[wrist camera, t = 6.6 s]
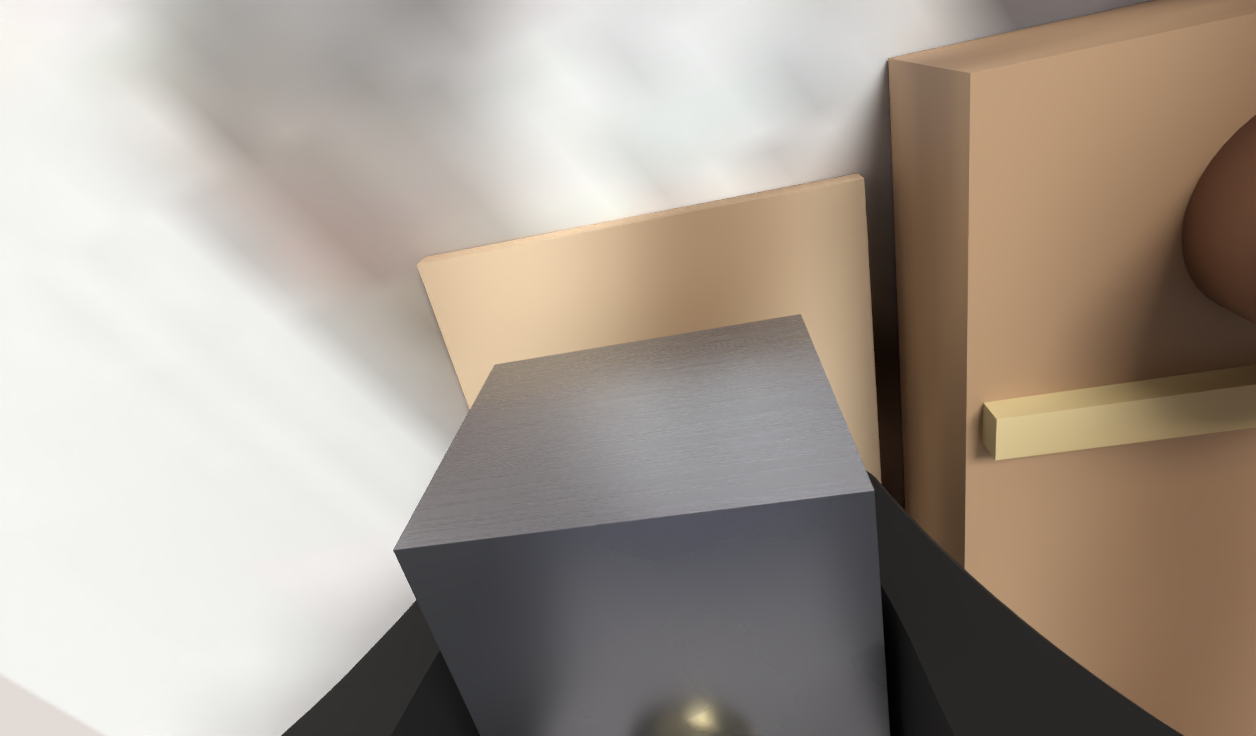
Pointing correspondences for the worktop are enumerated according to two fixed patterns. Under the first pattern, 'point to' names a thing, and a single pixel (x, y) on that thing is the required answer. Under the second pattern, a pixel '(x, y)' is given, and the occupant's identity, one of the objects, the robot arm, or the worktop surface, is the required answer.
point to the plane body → (1091, 338)
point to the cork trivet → (675, 287)
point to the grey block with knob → (657, 545)
